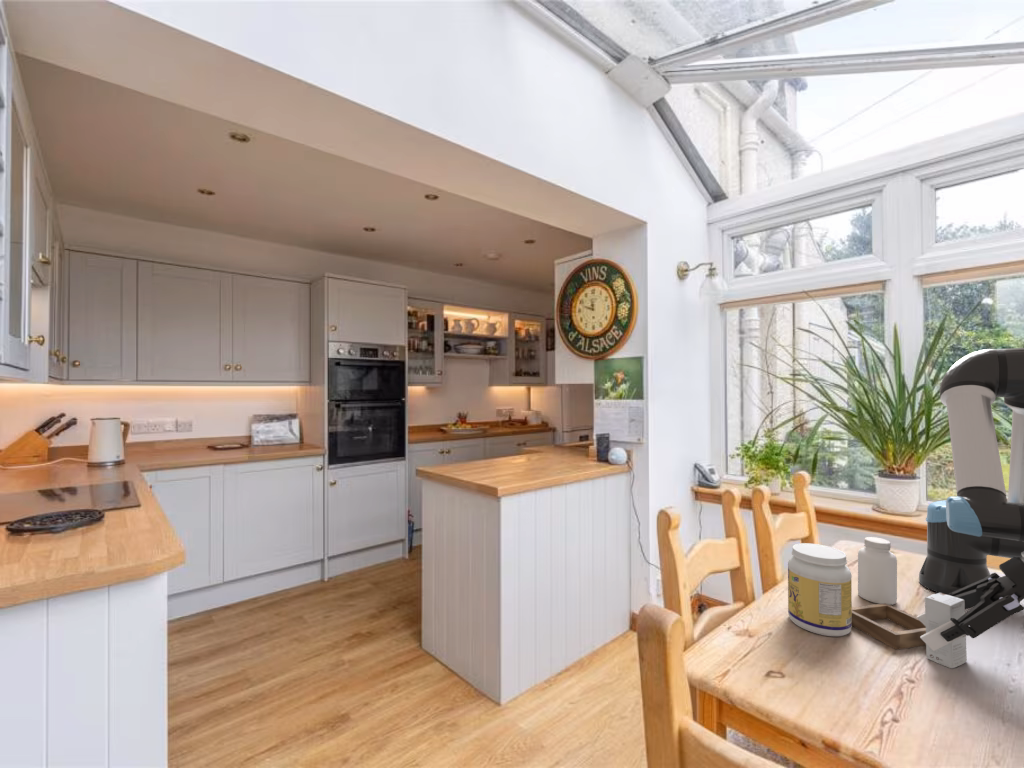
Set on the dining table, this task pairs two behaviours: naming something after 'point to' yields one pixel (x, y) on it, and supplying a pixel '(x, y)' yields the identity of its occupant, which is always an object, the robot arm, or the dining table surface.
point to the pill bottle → (877, 571)
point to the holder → (893, 639)
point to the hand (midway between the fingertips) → (924, 632)
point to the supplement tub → (820, 589)
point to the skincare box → (937, 614)
